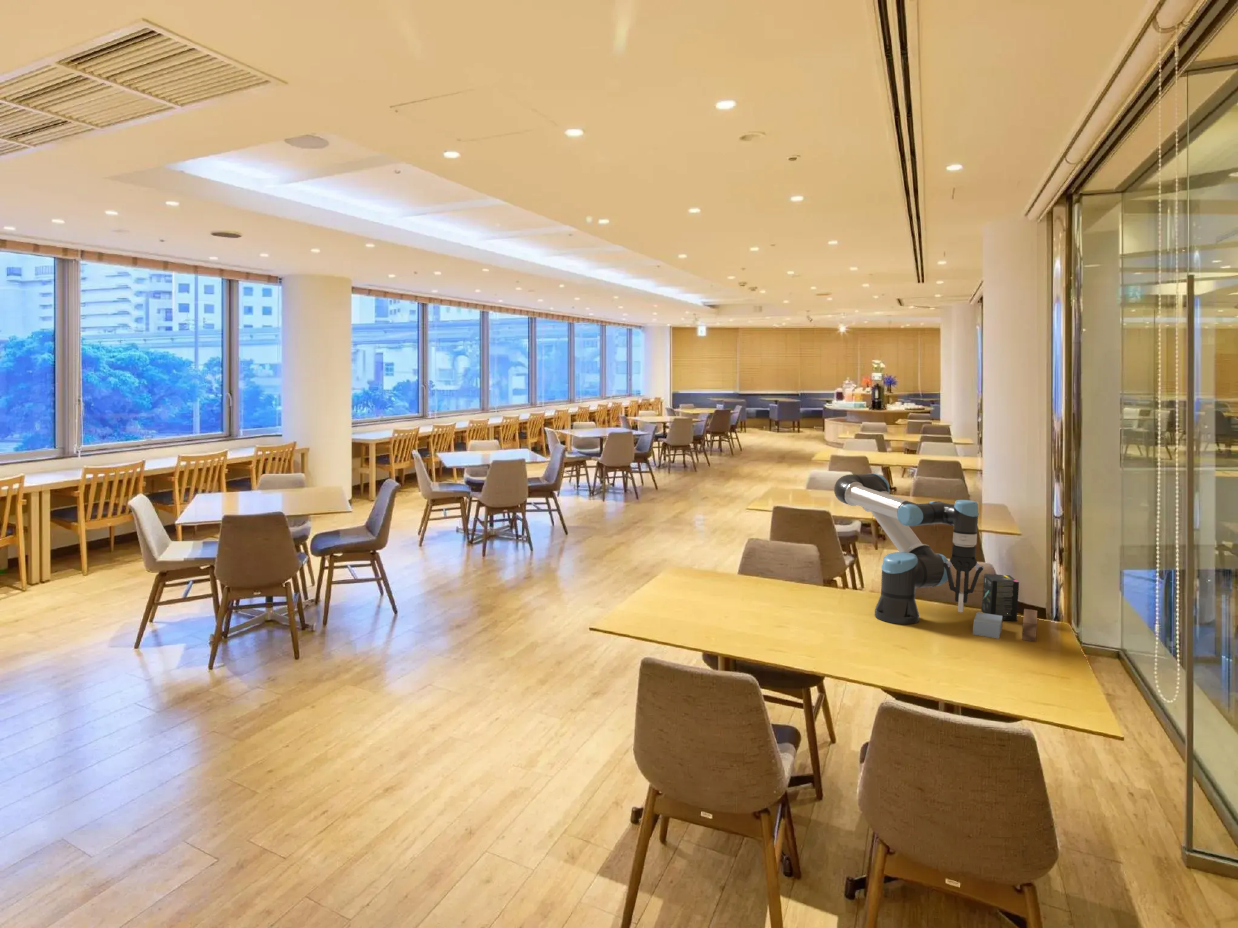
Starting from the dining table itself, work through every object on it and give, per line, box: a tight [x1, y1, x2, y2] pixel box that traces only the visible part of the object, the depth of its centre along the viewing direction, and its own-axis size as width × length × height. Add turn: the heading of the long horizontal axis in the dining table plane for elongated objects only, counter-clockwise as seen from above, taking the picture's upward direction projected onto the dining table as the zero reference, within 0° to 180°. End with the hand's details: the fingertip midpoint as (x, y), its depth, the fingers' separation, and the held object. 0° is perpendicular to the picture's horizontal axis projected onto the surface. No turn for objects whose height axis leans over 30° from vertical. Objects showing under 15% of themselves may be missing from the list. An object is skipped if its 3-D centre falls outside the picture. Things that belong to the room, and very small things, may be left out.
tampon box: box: [981, 573, 1020, 622], centre depth 269 cm, size 11×9×15 cm
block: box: [972, 611, 1003, 639], centre depth 252 cm, size 8×12×5 cm, turn 149°
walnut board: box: [1021, 608, 1038, 643], centre depth 251 cm, size 4×18×6 cm, turn 150°
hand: (960, 611), depth 256 cm, fingers closed
